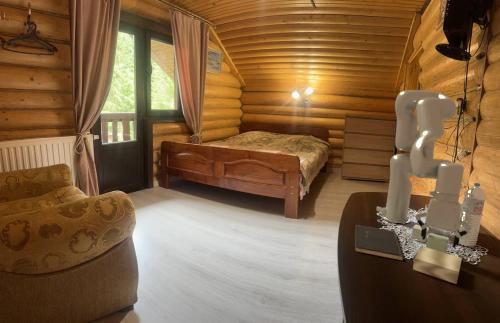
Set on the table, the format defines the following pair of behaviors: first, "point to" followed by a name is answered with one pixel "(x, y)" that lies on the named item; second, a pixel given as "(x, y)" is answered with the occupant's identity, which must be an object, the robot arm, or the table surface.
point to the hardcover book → (377, 242)
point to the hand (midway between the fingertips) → (438, 242)
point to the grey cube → (418, 233)
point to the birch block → (437, 264)
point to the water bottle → (472, 214)
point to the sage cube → (437, 242)
